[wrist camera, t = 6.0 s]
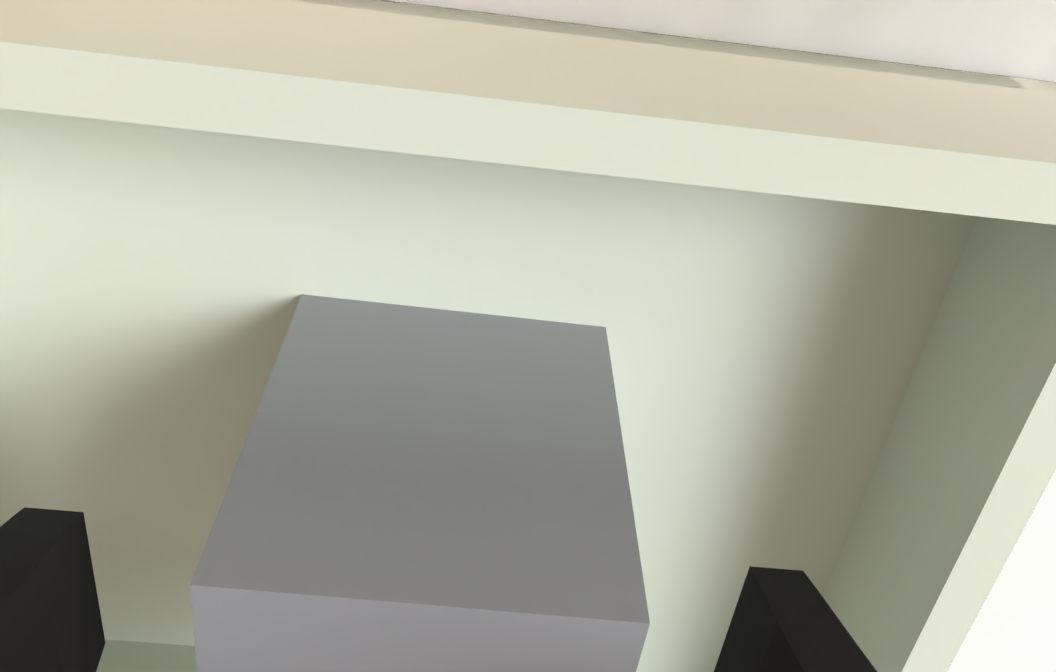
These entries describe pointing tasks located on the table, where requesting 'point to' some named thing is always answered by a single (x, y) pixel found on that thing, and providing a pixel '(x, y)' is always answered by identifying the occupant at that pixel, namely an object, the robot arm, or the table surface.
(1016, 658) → the table surface
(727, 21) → the table surface
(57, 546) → the robot arm
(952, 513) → the tray
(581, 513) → the grey rectangular block
